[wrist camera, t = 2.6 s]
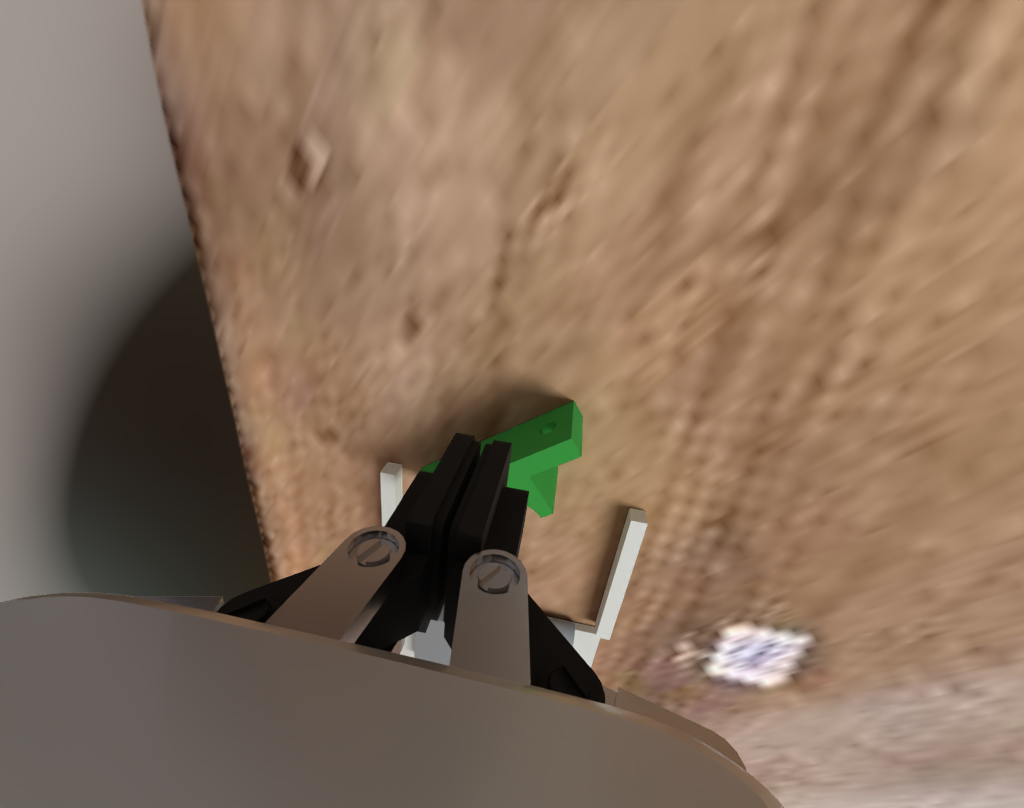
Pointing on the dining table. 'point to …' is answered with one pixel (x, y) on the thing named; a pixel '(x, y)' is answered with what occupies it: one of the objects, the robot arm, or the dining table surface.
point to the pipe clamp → (540, 453)
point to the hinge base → (577, 634)
